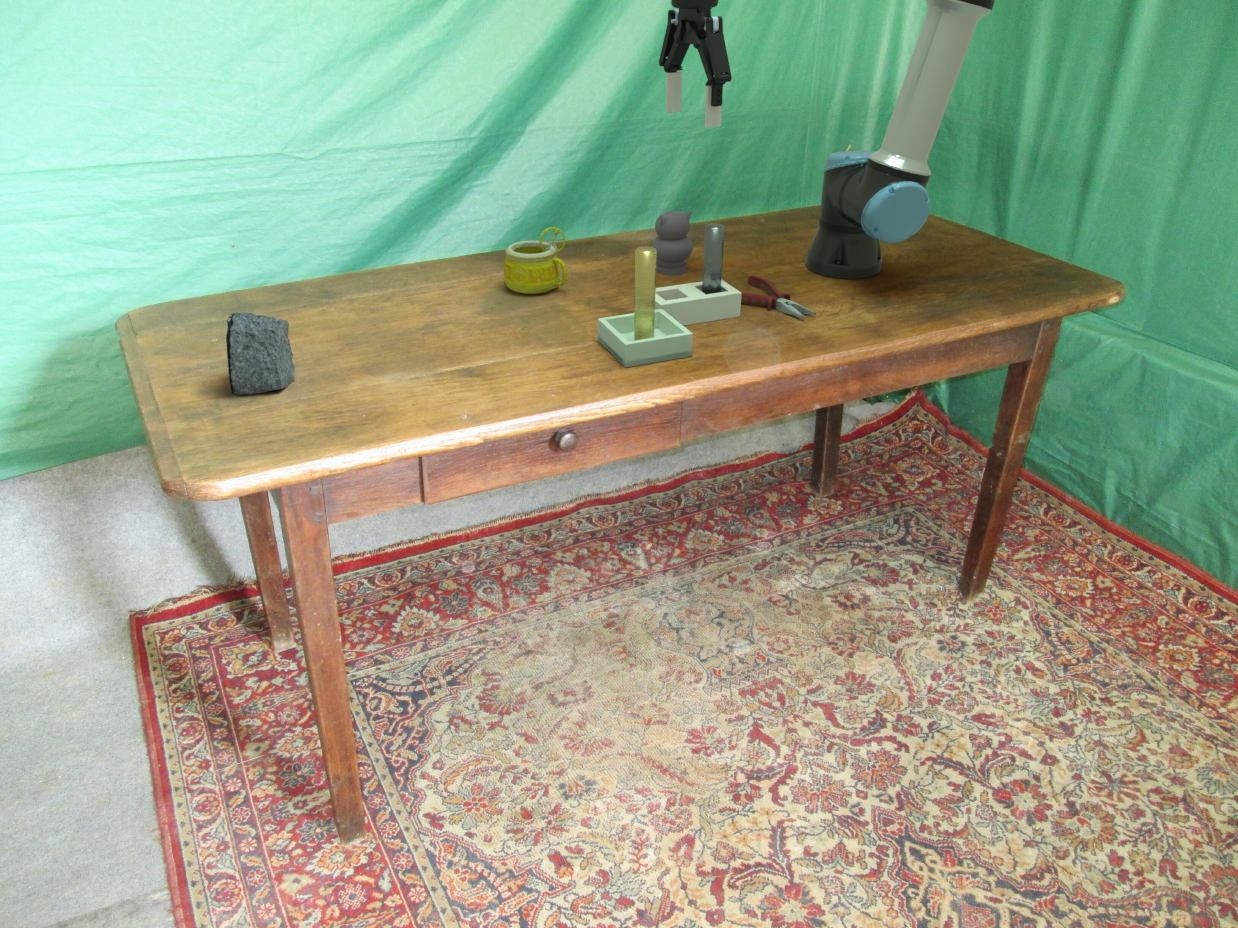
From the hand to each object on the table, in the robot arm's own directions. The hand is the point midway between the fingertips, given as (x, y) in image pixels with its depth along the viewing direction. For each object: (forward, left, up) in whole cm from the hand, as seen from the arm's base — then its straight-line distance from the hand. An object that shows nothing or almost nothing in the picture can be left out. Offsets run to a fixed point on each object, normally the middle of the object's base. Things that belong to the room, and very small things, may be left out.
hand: (692, 119), depth 167 cm
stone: (+75, +6, -34) cm, 83 cm away
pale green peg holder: (+1, +5, -33) cm, 34 cm away
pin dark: (-3, +5, -33) cm, 34 cm away
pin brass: (+15, +15, -32) cm, 39 cm away
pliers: (-13, +5, -34) cm, 37 cm away
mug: (+23, -19, -34) cm, 45 cm away
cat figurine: (-6, -19, -33) cm, 39 cm away
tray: (+15, +15, -33) cm, 40 cm away
